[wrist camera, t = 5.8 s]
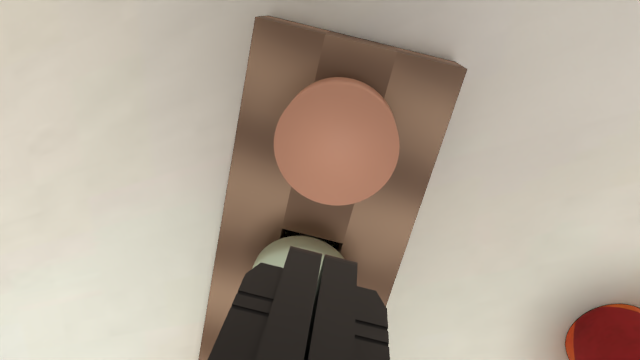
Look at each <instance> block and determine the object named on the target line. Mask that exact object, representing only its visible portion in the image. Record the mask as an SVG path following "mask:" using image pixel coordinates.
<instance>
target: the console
mask: <svg viewBox="0 0 640 360" xmlns="http://www.w3.org/2000/svg"><path fill="white" fill-rule="evenodd" d="M466 71H467V69H466V68H464V67H463V66H461V65H459V64H458V63H456V62H454V61H450V60H445V59H441V58H437V57H433V56H429V55H425V54H421V53H417V52H413V51H409V50H405V49H401V48H397V47H393V46H389V45H385V44H381V43H377V42H373V41H369V40H365V39H361V38H356V37H352V36H348V35H344V34H340V33H336V32H332V31H328V30H324V29H320V28H316V27H312V26H308V25H304V24H300V23H296V22H292V21H288V20H284V19H280V18H276V17H271V16H259V17H255V22H254V28H253V34H252V41H251V47H250V53H249V59H248V65H247V71H246V77H245V83H244V89H243V95H242V101H241V107H240V113H239V119H238V125H237V131H236V137H235V143H234V149H233V155H232V161H231V167H230V173H229V179H228V185H227V191H226V197H225V203H224V209H223V215H222V221H221V227H220V233H219V239H218V245H217V251H216V257H215V263H214V269H213V275H212V281H211V287H210V293H209V299H208V305H207V312H206V318H205V324H204V330H203V336H202V342H201V348H200V354H199V360H208V357H209V355H210V353H211V351H212V348H213V346H214V344H215V341H216V339H217V337H218V335H219V332H220V330H221V328H222V326H223V323H224V321H225V319H226V317H227V314H228V312H229V310H230V308H231V306H232V303H233V301H234V298H235V296H236V294H237V292H238V289H239V287H240V285H241V282H242V280H243V278H244V276H245V274H246V273H247V272H248V271H250V270H251V269H252V268H253V265H254V263H255V261H256V259H257V257H258V255H259V254H260V253H261V251H262V250H263V249H264V248H265V247H267V246H268V245H269V244H271V243H272V242H274V241H276V240H279V239H281V238H283V236H284V232H285V229H286V230H290V231H294V232H298V233H302V234H306V235H310V236H314V237H318V238H322V239H326V240H330V241H334V242H338V247H337V251H338V252H339V253H340V254H341V255H342V256H343V258H344V259H346V260H350V261H354V262H357V264H358V266H357V286H359V287H363V288H367V289H371V290H375V291H377V293H378V295H379V296H380V298H381V300H382V301H383V303H384V305H385V307H386V304H387V301H388V298H389V296H390V293H391V290H392V287H393V284H394V281H395V278H396V275H397V272H398V269H399V266H400V263H401V261H402V258H403V255H404V252H405V249H406V246H407V243H408V240H409V237H410V234H411V231H412V229H413V226H414V223H415V220H416V217H417V214H418V211H419V208H420V205H421V202H422V199H423V196H424V194H425V191H426V188H427V185H428V182H429V179H430V176H431V173H432V170H433V167H434V164H435V162H436V159H437V156H438V153H439V150H440V147H441V144H442V141H443V138H444V135H445V132H446V130H447V127H448V124H449V121H450V118H451V115H452V112H453V109H454V106H455V103H456V100H457V97H458V95H459V92H460V89H461V86H462V83H463V80H464V77H465V74H466ZM333 77H345V78H351V79H355V80H358V81H361V82H363V83H365V84H367V85H369V86H370V87H372V88H373V89H375V90H376V91H377V92H378V93H379V94H380V95H381V96H382V97H383V98H384V99H385V101H386V102H387V104H388V105H389V107H390V109H391V111H392V113H393V116H394V119H395V123H396V126H397V130H398V135H399V144H400V149H399V157H398V161H397V165H396V167H395V170H394V172H393V174H392V175H391V177H390V179H389V180H388V181H387V183H386V184H385V185H384V186H383V187H382V188H381V189H380V190H379V191H378V192H376V193H375V194H374V195H372V196H370V197H369V198H367V199H365V200H363V201H360V202H357V203H354V204H349V205H340V206H335V205H326V204H321V203H318V202H315V201H312V200H310V199H308V198H306V197H304V196H303V195H301V194H300V193H298V192H297V191H296V190H295V189H293V188H292V186H291V185H290V184H289V183H288V182H287V181H286V180H285V178H284V177H283V175H282V173H281V172H280V170H279V167H278V165H277V162H276V158H275V153H274V135H275V130H276V126H277V124H278V121H279V119H280V117H281V115H282V114H283V112H284V110H285V109H286V108H287V106H288V105H289V104H290V103H291V101H292V100H293V99H294V97H295V96H296V95H297V94H298V93H299V92H300V91H301V90H303V89H304V88H305V87H307V86H308V85H310V84H312V83H314V82H316V81H319V80H322V79H326V78H333Z"/></svg>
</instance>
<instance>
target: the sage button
mask: <svg viewBox="0 0 640 360" xmlns="http://www.w3.org/2000/svg"><path fill="white" fill-rule="evenodd" d="M290 246H293V247H297V248H301V249H305V250H309V251H314V252H318V253H322V259H321V265H320V270H321V266H322V262H323V259H324V256H325V254H326V255H330V256H334V257H338V258H342V259H344V258H343V256H342V255H341V254H340V253H339V252H338V251H337V250H336V249H335V248H333V247H332V246H331V245H329V244H327V243H326V242H325V241H324V240H323V239H322V238H318V237H314V236H310V235H306V234H299V235H297V236H290V237H285V238H281V239H279V240H276V241H274V242H272V243H271V244H269V245H268V246H267V247H265V248H264V249H263V250H262V251H261V253H260V254H259V255H258V257H257V259H256V261H255V263H254V265H253V268H254V267H255V266H257V265H258V264H259V263H266V264H270V265H274V266H278V267H282V268H284V265H285V261H286V258H287V255H288V252H289V249H290ZM253 268H252V269H253ZM319 273H320V271H319ZM318 277H319V276H318Z"/></svg>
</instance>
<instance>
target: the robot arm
mask: <svg viewBox="0 0 640 360" xmlns="http://www.w3.org/2000/svg"><path fill="white" fill-rule="evenodd" d="M321 259H322V253H318V252H314V251H309V250H305V249H301V248H297V247H293V246H290V249H289V252H288V255H287V258H286V261H285V265H284V268H282V267H278V266H274V265H270V264H266V263H259V264H258V265H257V266H255V267H254V268H253V269H251V270H250V271H248V272H247V273H246V274H245V276H244V278H243V280H242V282H241V285H240V287H239V289H238V292H237V294H236V296H235V298H234V301H233V303H232V306H231V308H230V310H229V312H228V314H227V317H226V319H225V321H224V323H223V326H222V328H221V330H220V332H219V335H218V337H217V339H216V341H215V344H214V346H213V348H212V351H211V353H210V355H209V357H208V360H390V356H389V347H388V344H389V339H388V331H387V329H388V321H387V308H386V307H385V305H384V303H383V301H382V300H381V298H380V296H379V295H378V293H377V291H375V290H371V289H367V288H363V287H359V286H357V266H358V264H357V262H354V261H350V260H346V259H342V258H338V257H334V256H330V255H326V254H325V256H324V259H323V262H322V266H321V270H320V265H321ZM319 271H320V273H319ZM318 276H319V277H318Z"/></svg>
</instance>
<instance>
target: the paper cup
mask: <svg viewBox="0 0 640 360" xmlns="http://www.w3.org/2000/svg"><path fill="white" fill-rule="evenodd" d="M565 347H566V352H567V355H568V358H569V360H640V308H638V307H635V306H631V305H625V304H611V305H605V306H601V307H598V308H595V309H593V310H590V311H589V312H587V313H585V314H584V315H582V316H581V317H580V318H578V319H577V320H576V321H575V322H574V323H573V325H572V326H571V328H570V329H569V331H568V333H567V336H566V341H565Z"/></svg>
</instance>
